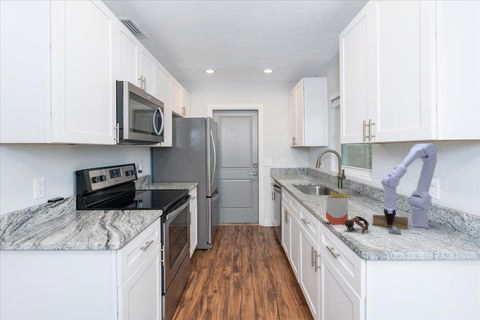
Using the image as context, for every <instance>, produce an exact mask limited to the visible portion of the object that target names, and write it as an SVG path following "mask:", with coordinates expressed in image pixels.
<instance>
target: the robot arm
mask: <svg viewBox="0 0 480 320" xmlns="http://www.w3.org/2000/svg"><path fill="white" fill-rule="evenodd" d="M438 151H439V149H438V148H437V146H436V144H434V143H430V142H428V143H415V144H414V145H413V146H412V148H410V151H409V153H408V154H407V156H405V158H404V160H403V161H402V162H401V163H400V164H396V165H395V166H393V169H392V170H391V171H390V172H389V173H387V175H386V176H383V177H382V180H381V185H382V187H383V205H381V206H380V207H381V208H382V209H383V215H385V216H386V220H387V224H388V225H392V224H393V220H394V217H395V216H397V187H399V186H400V181H401V179H402V178H403V177H404V176H405V175H406V173H407V172H408V170H407V169H408V168H409V167H410V166H411V165H412V164H413V163H414V162H415V161H416V160H417V159H419V158H420V159H421V161H422V162H423V163H422V167H421V172H420V175H419V178H418V181H417V186H416V189H415V190H414V191H412V193H411V195H410V196H409V198H408V200H407V201H408V204H409V206H410V208H411V220H410V221H409V222H410V226H411V227H415V228H424V229H425V228H426V229H430V227H431V226H430V225H429V224H428V223H429V220H428V219H429V211H430V209H431V207H432V205H433V204H432V203H433V202H432V198H433V197H432V195H431V194H430V193H429V192H430V189H431V184H432V181H433V177H434V173H435V171H436V170H435V169H436V166H437V162H438V159H437V158H438V157H437V153H438Z"/></svg>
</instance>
